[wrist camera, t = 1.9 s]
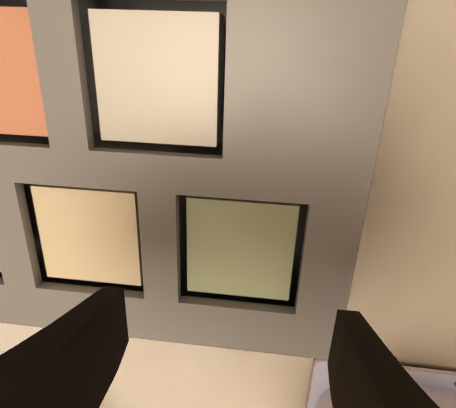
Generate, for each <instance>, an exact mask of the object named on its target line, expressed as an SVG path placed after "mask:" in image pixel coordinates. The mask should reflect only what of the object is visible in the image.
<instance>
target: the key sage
mask: <svg viewBox="0 0 456 408" xmlns="http://www.w3.org/2000/svg"><path fill="white" fill-rule="evenodd" d="M299 208H300V205H299V204H294V203H280V202H267V201H254V200H240V199H227V198H213V197H200V196H187V197H186V215H187V291H197V292H207V293H217V294H227V295H237V296H247V297H257V298H267V299H277V300H287V301H288V300H289V292H290V283H291V275H292V266H293V258H294V250H295V241H296V233H297V224H298V216H299Z"/></svg>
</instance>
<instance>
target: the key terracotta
mask: <svg viewBox="0 0 456 408" xmlns="http://www.w3.org/2000/svg"><path fill="white" fill-rule="evenodd" d="M0 134H12V135H29V136H45V137H48V132H47V126H46V120H45V113H44V107H43V101H42V95H41V88H40V82H39V76H38V69H37V63H36V57H35V51H34V44H33V38H32V32H31V26H30V19H29V13H28V7H4V6H0Z"/></svg>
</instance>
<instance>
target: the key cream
mask: <svg viewBox="0 0 456 408" xmlns="http://www.w3.org/2000/svg"><path fill="white" fill-rule="evenodd" d="M88 16H89V26H90V35H91V45H92V55H93V64H94V74H95V84H96V94H97V103H98V113H99V123H100V132H101V140H110V141H126V142H143V143H159V144H175V145H191V146H208V147H217V145H218V144H219V142H220V140H221V139H222V111H223V73H224V36H225V16H224V15H223V14H221V13H220V12H193V11H155V10H117V9H88Z"/></svg>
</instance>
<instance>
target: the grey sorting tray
mask: <svg viewBox="0 0 456 408" xmlns="http://www.w3.org/2000/svg"><path fill="white" fill-rule="evenodd" d="M406 4H407V0H0V6H4V7H28V13H29V19H30V26H31V32H32V38H33V44H34V51H35V57H36V63H37V69H38V76H39V82H40V88H41V95H42V101H43V107H44V113H45V120H46V126H47V132H48V137H45V136H29V135H12V134H0V269H1V272H0V323H7V324H16V325H25V326H34V327H43V328H45V327H46V326H48V325H49V324H51V323H52V322H54V321H55V320H56V319H58V318H59V317H61V316H62V315H64V314H65V313H67V312H68V311H69V310H71V309H72V308H74V307H75V306H77V305H78V304H79V303H81V302H82V301H84V300H85V299H86V298H88V297H89V296H91V295H92V294H94V293H95V292H96V291H98V290H99V289H101V288H102V287H104V286H109V287H119V288H124V295H125V306H126V317H127V327H128V337H131V338H140V339H149V340H157V341H166V342H175V343H184V344H193V345H201V346H210V347H219V348H228V349H237V350H246V351H254V352H263V353H272V354H281V355H290V356H298V357H307V358H316V359H325V360H328V357H329V352H330V346H331V341H332V335H333V330H334V325H335V319H336V314H337V309H338V310H346V309H347V304H348V299H349V293H350V288H351V283H352V278H353V273H354V268H355V263H356V258H357V253H358V248H359V243H360V238H361V233H362V228H363V222H364V217H365V212H366V207H367V202H368V197H369V192H370V187H371V182H372V177H373V172H374V167H375V162H376V157H377V151H378V146H379V141H380V136H381V131H382V126H383V121H384V116H385V111H386V106H387V101H388V96H389V91H390V85H391V80H392V75H393V70H394V65H395V60H396V55H397V50H398V45H399V40H400V35H401V30H402V25H403V20H404V14H405V9H406ZM88 9H117V10H155V11H193V12H220V13H221V14H223V15H224V16H225V36H224V73H223V111H222V139H221V140H220V142H219V144H218V145H217V147H208V146H191V145H175V144H159V143H143V142H126V141H110V140H101V132H100V123H99V113H98V103H97V94H96V84H95V74H94V64H93V55H92V45H91V35H90V26H89V16H88ZM33 184H39V185H52V186H66V187H79V188H93V189H106V190H119V191H133V192H137V200H138V214H139V229H140V243H141V258H142V273H143V283H142V285H141V286H136V285H126V284H116V283H106V282H96V281H86V280H76V279H66V278H56V277H47V272H46V267H45V261H44V256H43V251H42V245H41V240H40V235H39V230H38V224H37V219H36V214H35V208H34V203H33V198H32V193H31V187H30V186H31V185H33ZM187 196H200V197H213V198H227V199H240V200H254V201H267V202H280V203H294V204H299V205H300V208H299V216H298V224H297V233H296V241H295V250H294V258H293V266H292V275H291V283H290V292H289V300H288V301H287V300H277V299H267V298H257V297H247V296H237V295H227V294H217V293H207V292H197V291H187V215H186V197H187Z"/></svg>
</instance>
